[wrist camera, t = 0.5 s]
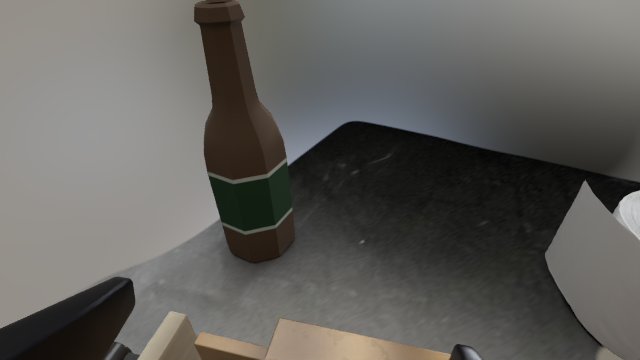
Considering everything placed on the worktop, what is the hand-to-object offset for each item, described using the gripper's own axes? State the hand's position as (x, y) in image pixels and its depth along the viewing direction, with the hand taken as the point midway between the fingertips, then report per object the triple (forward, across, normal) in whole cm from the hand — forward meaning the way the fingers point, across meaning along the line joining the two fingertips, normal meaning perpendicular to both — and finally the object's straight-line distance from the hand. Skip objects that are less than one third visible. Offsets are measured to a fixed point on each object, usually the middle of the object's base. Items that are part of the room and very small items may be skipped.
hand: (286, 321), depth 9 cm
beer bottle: (+24, +8, +15) cm, 29 cm away
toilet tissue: (+19, -27, +12) cm, 35 cm away
